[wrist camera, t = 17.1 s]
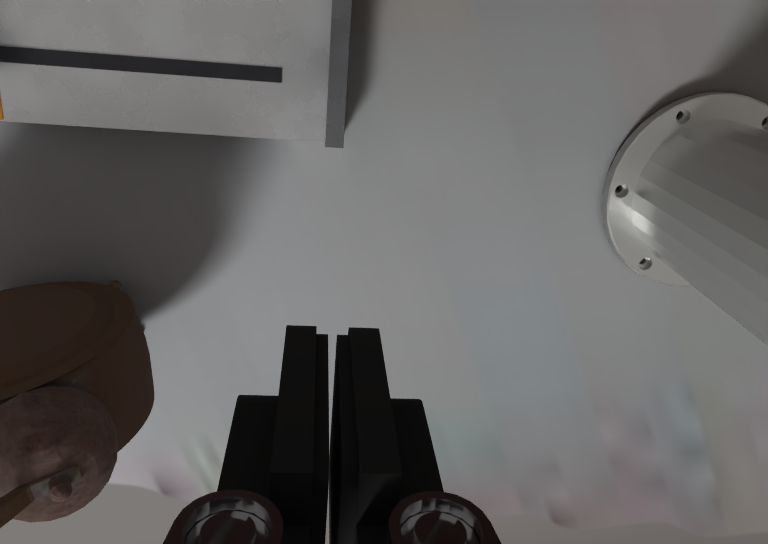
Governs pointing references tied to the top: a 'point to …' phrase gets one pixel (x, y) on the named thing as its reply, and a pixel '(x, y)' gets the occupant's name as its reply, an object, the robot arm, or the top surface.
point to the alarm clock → (67, 394)
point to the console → (179, 66)
